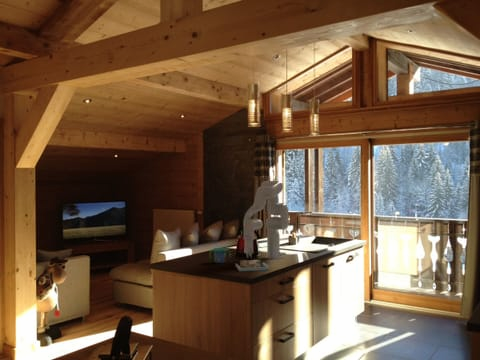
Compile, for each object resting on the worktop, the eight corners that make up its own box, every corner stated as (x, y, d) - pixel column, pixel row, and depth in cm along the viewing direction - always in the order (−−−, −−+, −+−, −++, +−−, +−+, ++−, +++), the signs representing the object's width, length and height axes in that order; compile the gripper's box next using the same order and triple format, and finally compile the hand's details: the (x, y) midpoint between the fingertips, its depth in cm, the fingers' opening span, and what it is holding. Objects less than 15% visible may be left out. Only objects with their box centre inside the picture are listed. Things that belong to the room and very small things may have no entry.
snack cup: (209, 264, 334) (209, 250, 334) (209, 261, 345) (209, 247, 345) (231, 263, 336) (231, 249, 336) (230, 260, 346) (230, 247, 346)
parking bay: (263, 265, 328) (263, 262, 328) (269, 270, 311) (269, 267, 311) (235, 266, 325) (235, 263, 325) (239, 271, 308) (239, 268, 308)
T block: (259, 265, 328) (259, 259, 328) (263, 269, 314) (263, 263, 314) (239, 266, 326) (239, 260, 326) (243, 270, 312) (243, 264, 312)
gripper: (242, 236, 336) (242, 261, 336) (245, 239, 321) (245, 265, 321) (252, 236, 337) (252, 261, 337) (256, 238, 322) (256, 265, 322)
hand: (249, 263), depth 329 cm, fingers closed
